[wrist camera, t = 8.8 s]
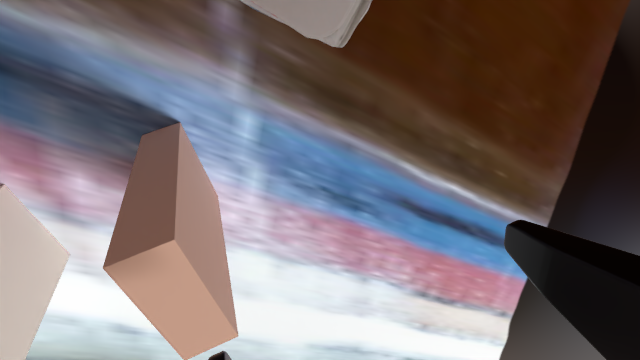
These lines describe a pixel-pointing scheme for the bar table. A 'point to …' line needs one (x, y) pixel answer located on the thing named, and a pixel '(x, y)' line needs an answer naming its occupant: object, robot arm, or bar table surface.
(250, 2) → the ink box
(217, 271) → the tile
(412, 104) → the bar table surface
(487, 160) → the bar table surface
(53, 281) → the tile
